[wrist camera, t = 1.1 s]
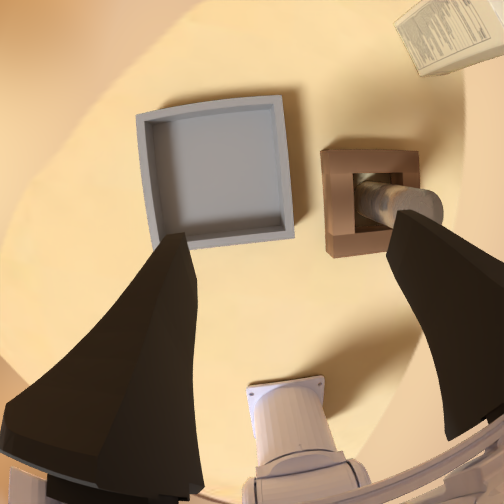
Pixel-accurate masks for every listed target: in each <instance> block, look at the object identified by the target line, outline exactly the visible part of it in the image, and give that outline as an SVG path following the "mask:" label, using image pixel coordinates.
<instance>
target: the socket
mask: <svg viewBox="0 0 504 504" xmlns="http://www.w3.org/2000/svg"><path fill="white" fill-rule="evenodd" d="M320 156H321V168H322V181H323V196H324V214H325V239H326V252H327V253H328V254H330V255H331V256H332V257H333V258H341V257H349V256H357V255H364V254H372V253H380V252H387V250H388V246H389V242H390V238H391V235H392V231H393V228H390V227H388V226H386V225H372V226H362V227H355V220H354V191H353V173H391V184H394V185H401V186H407V187H413V188H419V189H420V172H419V155H418V151H401V150H325V151H320Z"/></svg>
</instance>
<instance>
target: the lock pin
mask: <svg viewBox="0 0 504 504" xmlns="http://www.w3.org/2000/svg"><path fill="white" fill-rule="evenodd" d="M354 208H355V209H356V211H357V212H358V213H359V214H360V215H362V216H364V217H367V218H369V219H371V220H374V221H376V222H379V223H381V224H383V225H386V226H388V227H390V228H393V226H394V222H395V218H396V214H397V210H409V209H411V210H413V211H416V212H418V213H420V214H422V215H424V216H426V217H428V218H430V219H432V220H433V221H435V222H437V223H438V224H440V225H442V222H443V205H442V202H441V200H440V198H439V197H438V196H437V194H435V193H434V192H432V191H430V190H425V189H419V188H413V187H407V186H401V185H394V184H388V183H381V182H373V181H365V182H362V183H361V184H359V185H358V186H357V187H356V189H355V191H354Z"/></svg>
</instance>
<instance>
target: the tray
mask: <svg viewBox="0 0 504 504" xmlns="http://www.w3.org/2000/svg"><path fill="white" fill-rule="evenodd" d="M136 127H137V140H138V150H139V160H140V169H141V177H142V185H143V192H144V199H145V206H146V213H147V219H148V225H149V231H150V236H151V242H152V247H153V252H154V250H155V249H156V247H157V246H158V245H159V243H160V242H161V241H162V239H163V238H164V237H165V235H167V234H174V233H182V232H185V235H186V239H187V243H188V247H189V250H194V249H203V248H211V247H220V246H229V245H238V244H247V243H256V242H265V241H274V240H283V239H293V238H295V234H294V219H293V205H292V192H291V180H290V169H289V158H288V148H287V138H286V129H285V120H284V111H283V102H282V95H270V96H254V97H242V98H232V99H222V100H214V101H207V102H200V103H193V104H187V105H181V106H175V107H170V108H165V109H160V110H155V111H151V112H146V113H142V114H137V115H136Z"/></svg>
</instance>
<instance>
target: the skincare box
mask: <svg viewBox="0 0 504 504" xmlns="http://www.w3.org/2000/svg"><path fill="white" fill-rule="evenodd" d="M394 26H395V28H396V30H397V32H398V33H399V35H400V37H401V39H402V41H403V43H404V45H405V47H406V49H407V51H408V53H409V55H410V56H411V59H412V60H413V63H414V65H415V67H416V69H417V71H418V73H419V75H420V76H421V77H424V76H438V75H445V74H449V73H451V72H454V71H457V70H460V69H463V68H465V67H468V66H471V65H474V64H477V63H480V62H483V61H486V60H489V59H493V58H495V57H499V56H502V55H504V0H421V1H420V2H418V3H417V4H416V5H415V6H413V7H412V8H411V9H410V10H409V11H407V12H406V13H405V14H404V15H403V16H401V17H400V18H399V19H398V20H397V21H395V22H394Z"/></svg>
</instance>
